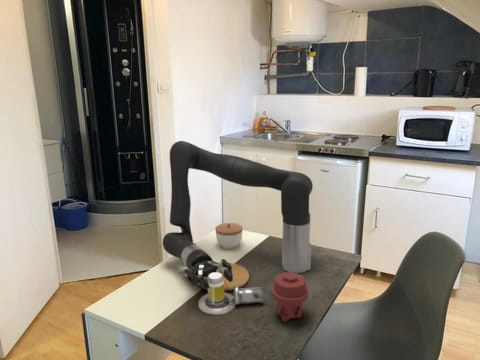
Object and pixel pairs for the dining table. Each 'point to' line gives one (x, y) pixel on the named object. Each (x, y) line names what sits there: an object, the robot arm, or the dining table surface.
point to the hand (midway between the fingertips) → (219, 282)
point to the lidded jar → (229, 235)
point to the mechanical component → (289, 294)
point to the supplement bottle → (216, 289)
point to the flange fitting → (232, 300)
